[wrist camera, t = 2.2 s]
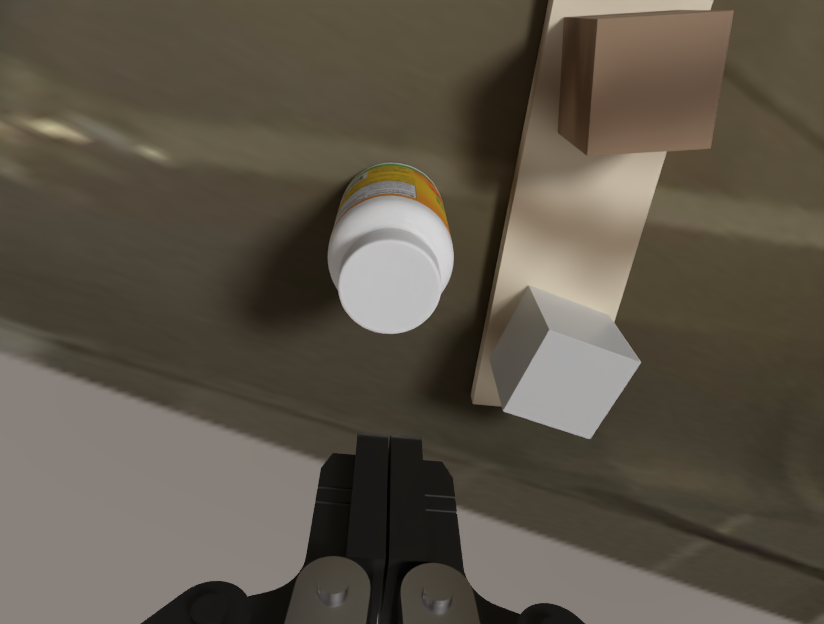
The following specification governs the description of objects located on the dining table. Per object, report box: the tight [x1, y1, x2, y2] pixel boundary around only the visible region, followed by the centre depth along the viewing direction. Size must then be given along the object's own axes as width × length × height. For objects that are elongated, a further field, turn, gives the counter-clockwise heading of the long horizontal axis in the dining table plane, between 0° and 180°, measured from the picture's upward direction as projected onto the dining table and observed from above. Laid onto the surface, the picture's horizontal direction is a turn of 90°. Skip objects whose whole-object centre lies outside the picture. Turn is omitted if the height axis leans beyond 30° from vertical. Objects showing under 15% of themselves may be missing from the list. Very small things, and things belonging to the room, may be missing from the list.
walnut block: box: [558, 10, 734, 156], centre depth 25 cm, size 5×5×5 cm
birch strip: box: [471, 0, 713, 407], centre depth 31 cm, size 24×7×1 cm, turn 173°
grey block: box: [489, 285, 641, 439], centre depth 32 cm, size 5×5×5 cm
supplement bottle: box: [328, 163, 454, 334], centre depth 27 cm, size 5×5×10 cm
